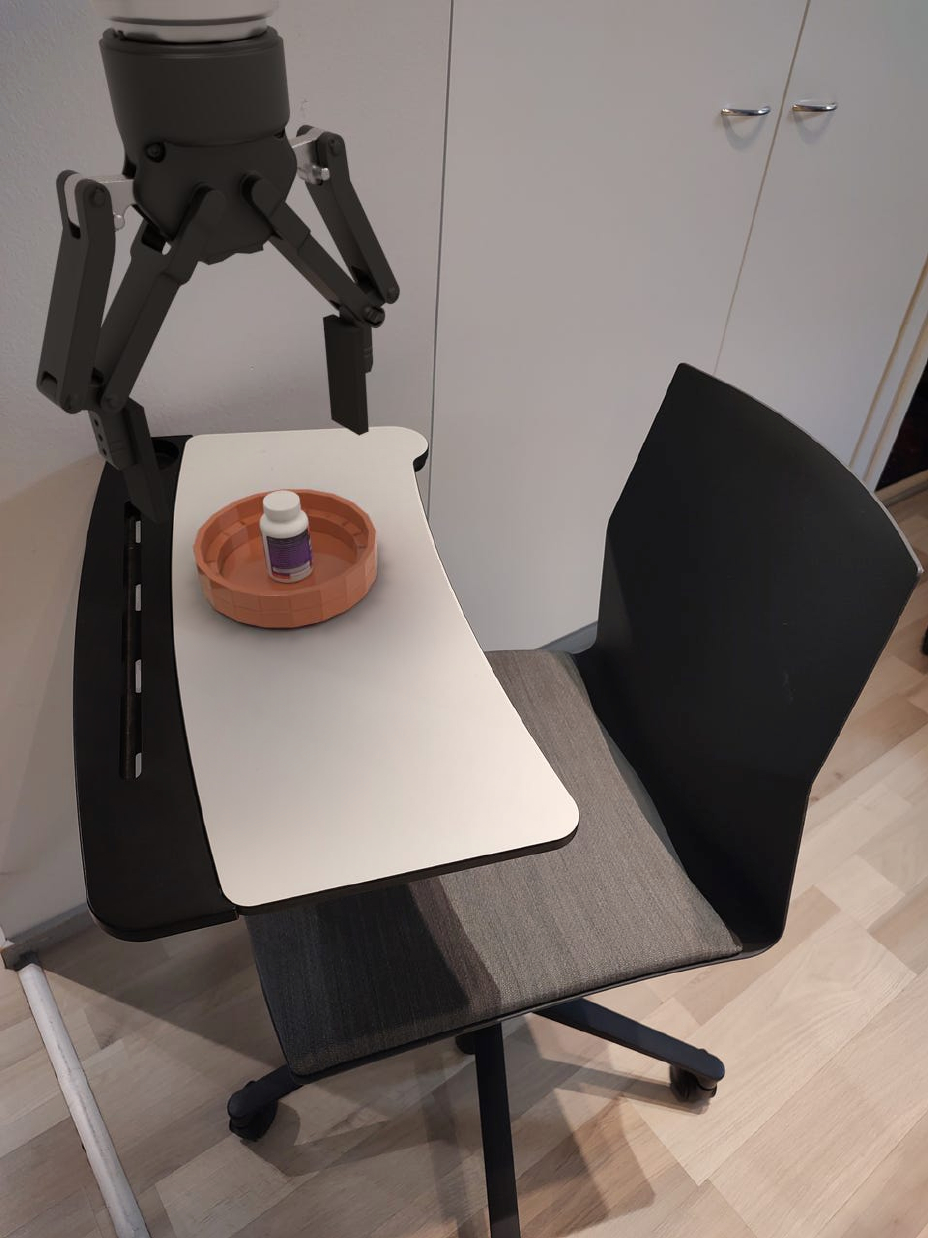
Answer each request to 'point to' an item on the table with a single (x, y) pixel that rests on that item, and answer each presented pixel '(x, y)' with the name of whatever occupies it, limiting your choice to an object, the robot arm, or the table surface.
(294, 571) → the pill bottle
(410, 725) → the table surface
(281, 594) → the bowl
